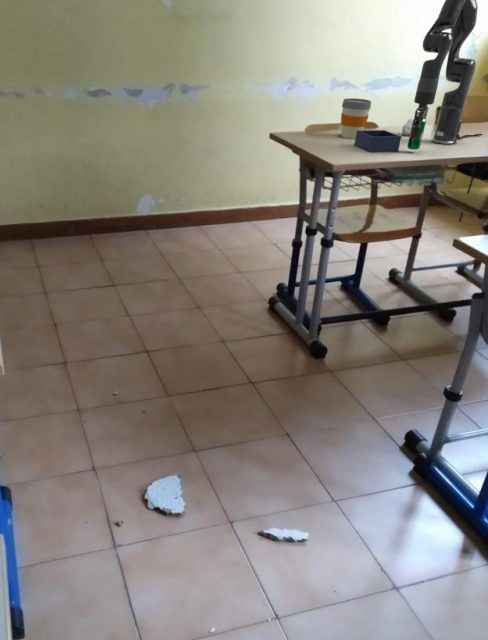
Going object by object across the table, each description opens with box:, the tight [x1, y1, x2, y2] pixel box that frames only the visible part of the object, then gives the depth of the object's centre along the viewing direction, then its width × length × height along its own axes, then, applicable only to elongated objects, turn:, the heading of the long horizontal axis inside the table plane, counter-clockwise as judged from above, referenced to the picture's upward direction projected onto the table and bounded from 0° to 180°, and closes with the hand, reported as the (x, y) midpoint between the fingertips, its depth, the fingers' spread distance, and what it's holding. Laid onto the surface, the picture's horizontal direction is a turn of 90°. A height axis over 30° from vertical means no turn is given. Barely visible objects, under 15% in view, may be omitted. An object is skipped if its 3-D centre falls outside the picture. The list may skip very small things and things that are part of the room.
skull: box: [401, 118, 414, 137], centre depth 284 cm, size 8×9×12 cm
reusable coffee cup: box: [340, 98, 372, 140], centre depth 273 cm, size 13×13×15 cm
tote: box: [353, 129, 402, 153], centre depth 256 cm, size 13×13×6 cm
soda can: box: [407, 117, 427, 151], centre depth 250 cm, size 5×5×12 cm
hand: (416, 135), depth 250 cm, fingers closed on soda can, 5 cm apart
